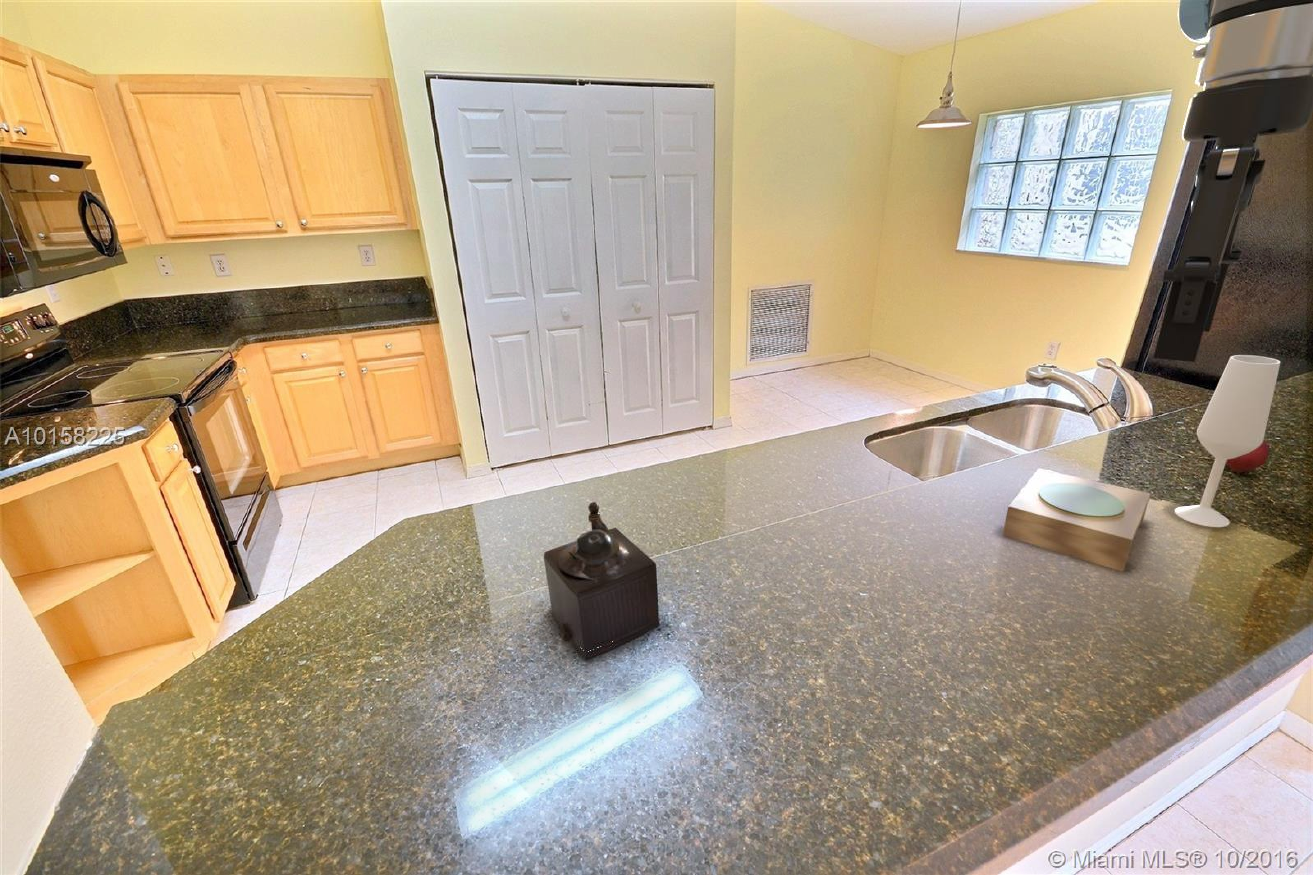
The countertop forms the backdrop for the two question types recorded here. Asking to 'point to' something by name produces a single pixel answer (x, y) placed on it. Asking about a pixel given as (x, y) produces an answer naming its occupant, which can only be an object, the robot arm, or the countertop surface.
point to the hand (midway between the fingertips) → (1183, 343)
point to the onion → (1250, 459)
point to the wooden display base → (1077, 517)
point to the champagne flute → (1233, 424)
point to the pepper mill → (601, 589)
